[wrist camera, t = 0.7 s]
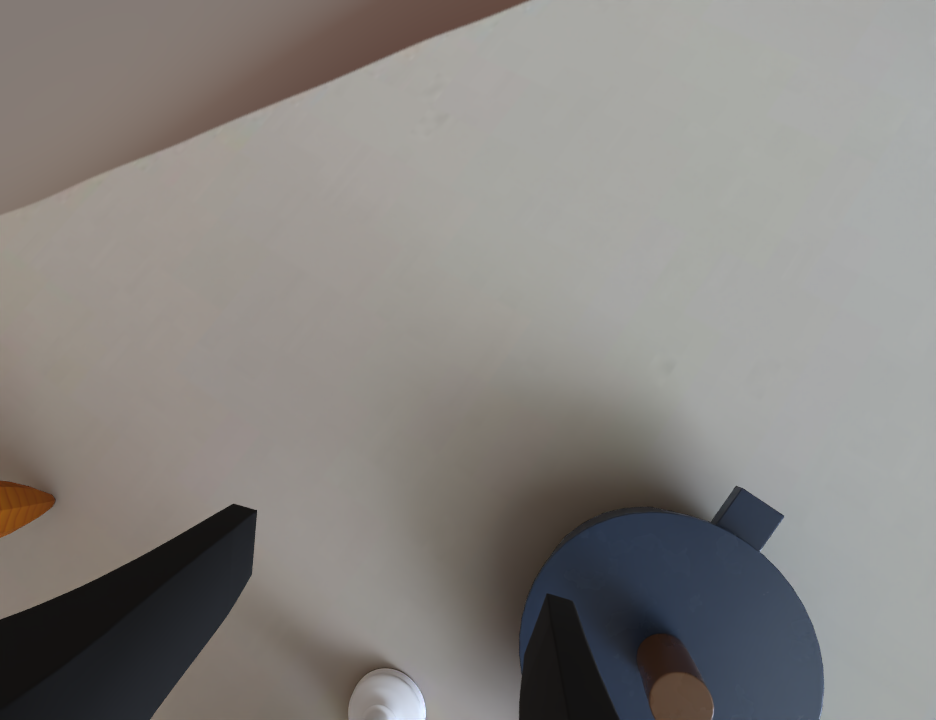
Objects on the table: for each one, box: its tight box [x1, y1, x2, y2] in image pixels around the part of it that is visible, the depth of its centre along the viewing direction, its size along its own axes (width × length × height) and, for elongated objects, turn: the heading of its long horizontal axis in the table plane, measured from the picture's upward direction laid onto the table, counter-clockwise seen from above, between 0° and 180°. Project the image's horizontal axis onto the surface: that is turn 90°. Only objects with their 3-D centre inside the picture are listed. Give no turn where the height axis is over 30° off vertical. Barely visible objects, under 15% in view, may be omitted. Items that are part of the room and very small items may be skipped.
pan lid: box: [519, 510, 824, 720], centre depth 24 cm, size 14×14×5 cm
